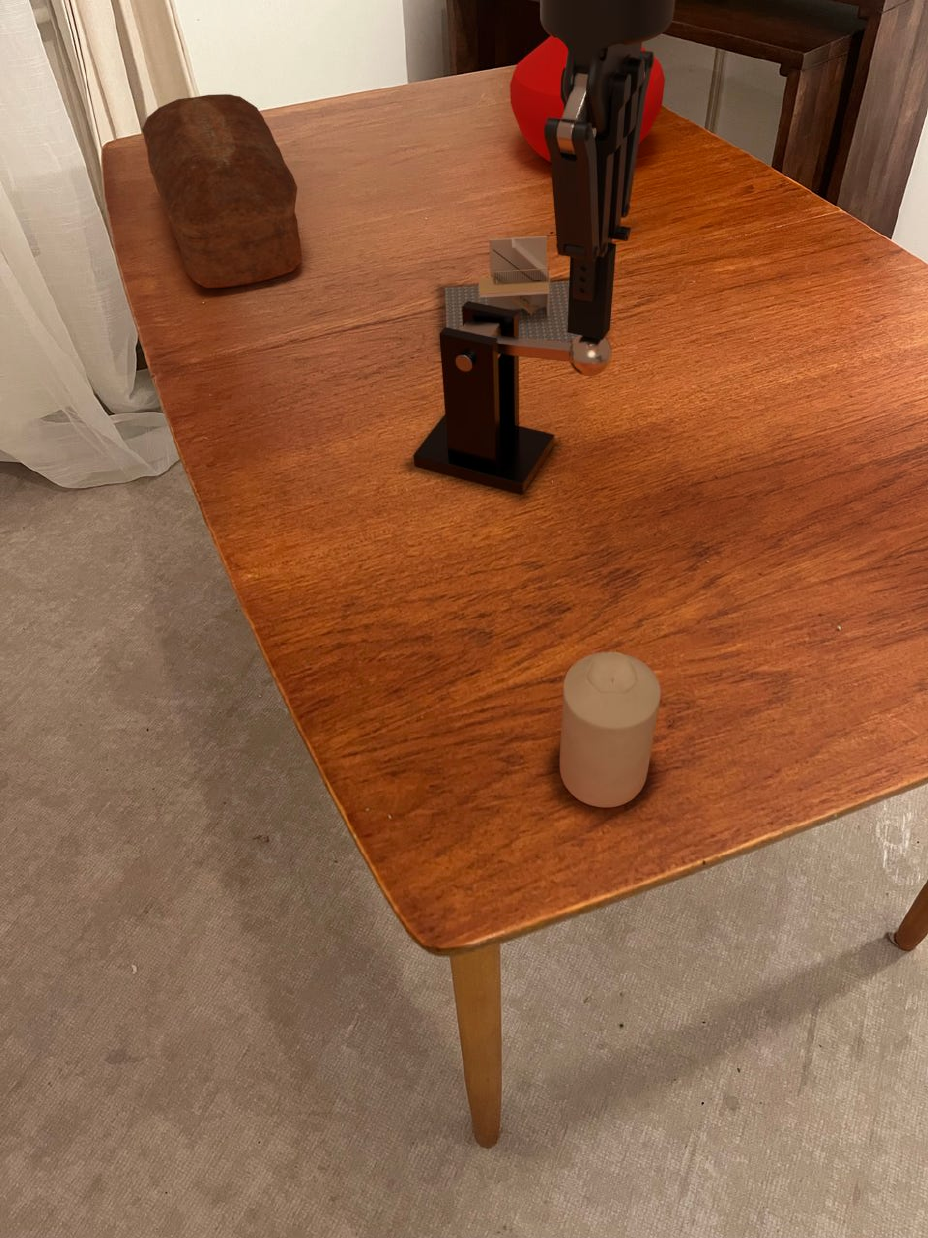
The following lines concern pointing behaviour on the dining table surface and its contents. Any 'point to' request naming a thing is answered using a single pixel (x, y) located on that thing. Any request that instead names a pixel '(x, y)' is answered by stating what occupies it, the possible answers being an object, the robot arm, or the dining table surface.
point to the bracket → (483, 409)
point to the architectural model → (518, 290)
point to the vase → (542, 85)
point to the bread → (224, 190)
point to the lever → (550, 348)
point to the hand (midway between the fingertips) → (588, 330)
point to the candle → (607, 727)
